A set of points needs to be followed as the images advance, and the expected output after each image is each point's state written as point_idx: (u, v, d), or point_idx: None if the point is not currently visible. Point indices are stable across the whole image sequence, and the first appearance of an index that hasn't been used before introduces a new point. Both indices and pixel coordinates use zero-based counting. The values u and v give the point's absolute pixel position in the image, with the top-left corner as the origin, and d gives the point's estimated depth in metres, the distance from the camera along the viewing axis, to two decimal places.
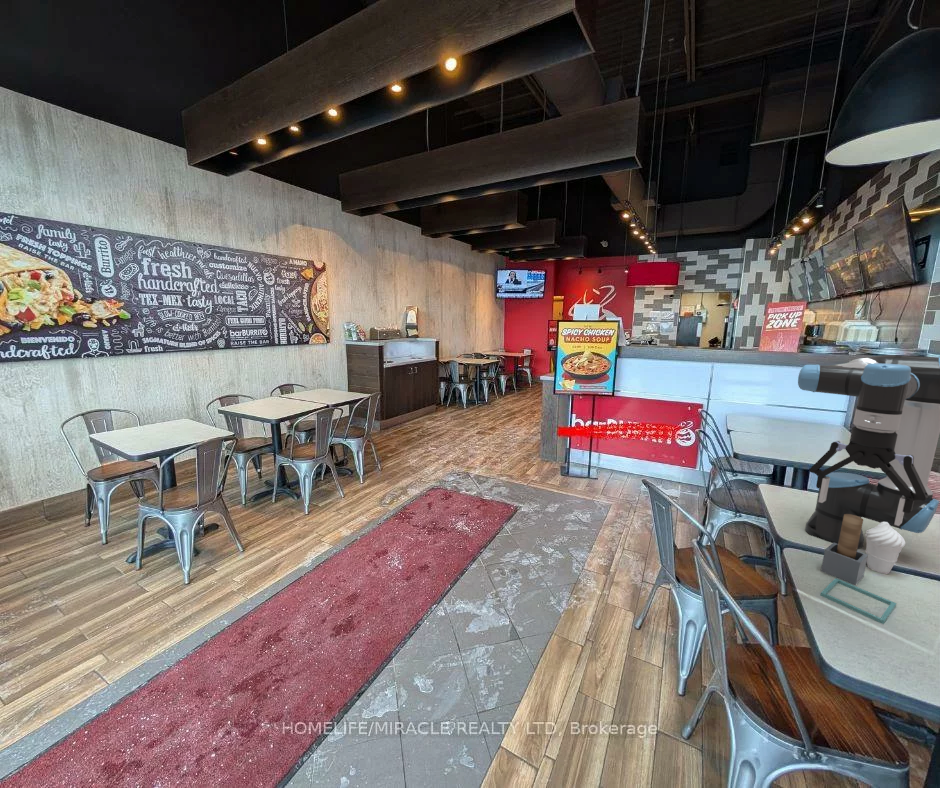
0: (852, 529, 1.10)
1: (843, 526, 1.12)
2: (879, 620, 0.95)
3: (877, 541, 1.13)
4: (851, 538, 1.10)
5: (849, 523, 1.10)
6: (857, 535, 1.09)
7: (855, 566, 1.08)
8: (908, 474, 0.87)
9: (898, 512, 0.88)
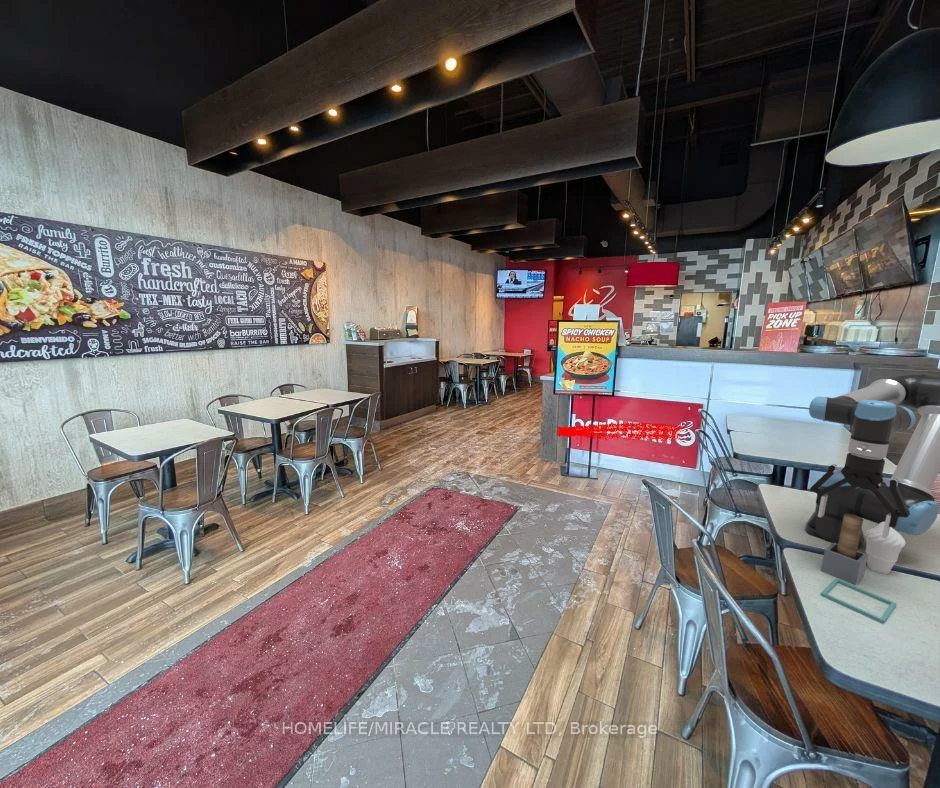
0: (852, 529, 1.10)
1: (843, 526, 1.12)
2: (879, 620, 0.95)
3: (877, 541, 1.13)
4: (851, 538, 1.10)
5: (849, 523, 1.10)
6: (857, 535, 1.09)
7: (855, 566, 1.08)
8: (893, 495, 1.03)
9: (885, 527, 1.04)
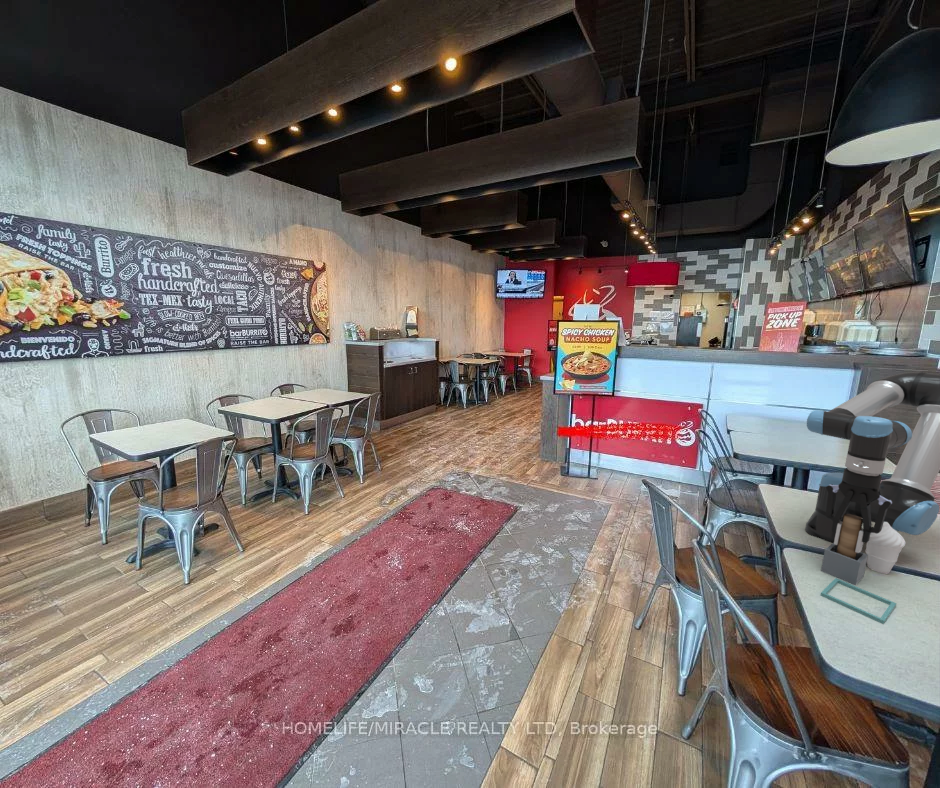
0: (852, 529, 1.10)
1: (843, 526, 1.12)
2: (879, 620, 0.95)
3: (877, 541, 1.13)
4: (851, 538, 1.10)
5: (849, 523, 1.10)
6: (857, 535, 1.09)
7: (855, 566, 1.08)
8: (879, 513, 1.05)
9: (858, 542, 1.09)
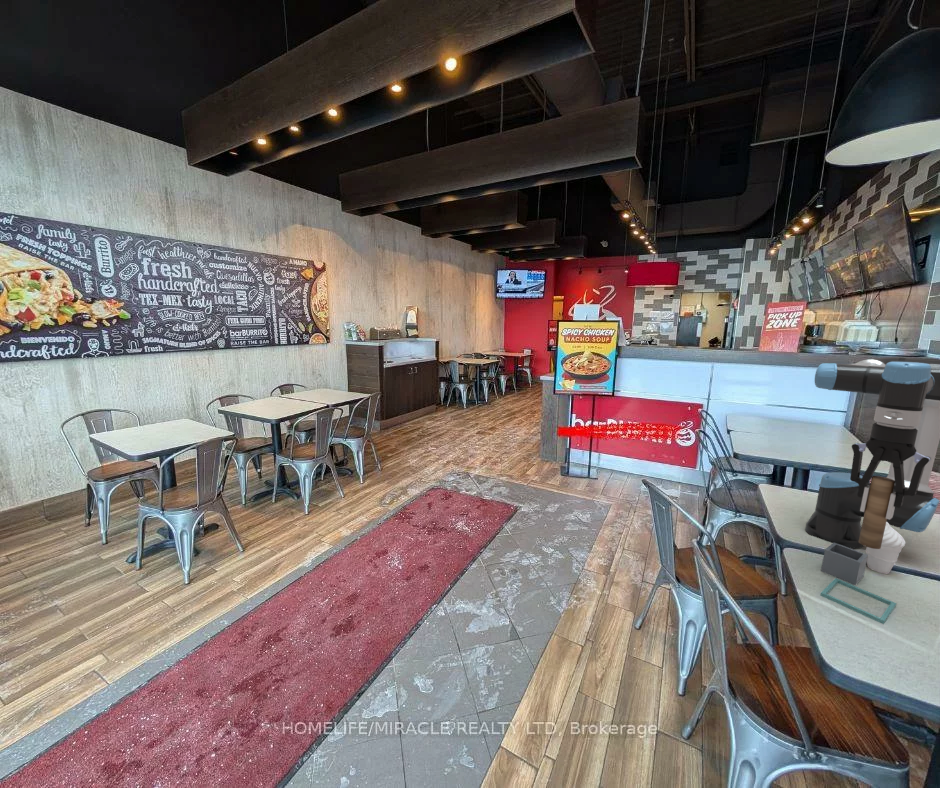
0: (882, 492, 0.96)
1: (871, 489, 0.97)
2: (879, 620, 0.95)
3: None
4: (881, 502, 0.96)
5: (879, 485, 0.96)
6: (888, 499, 0.95)
7: (855, 566, 1.08)
8: (914, 472, 0.91)
9: (889, 507, 0.95)
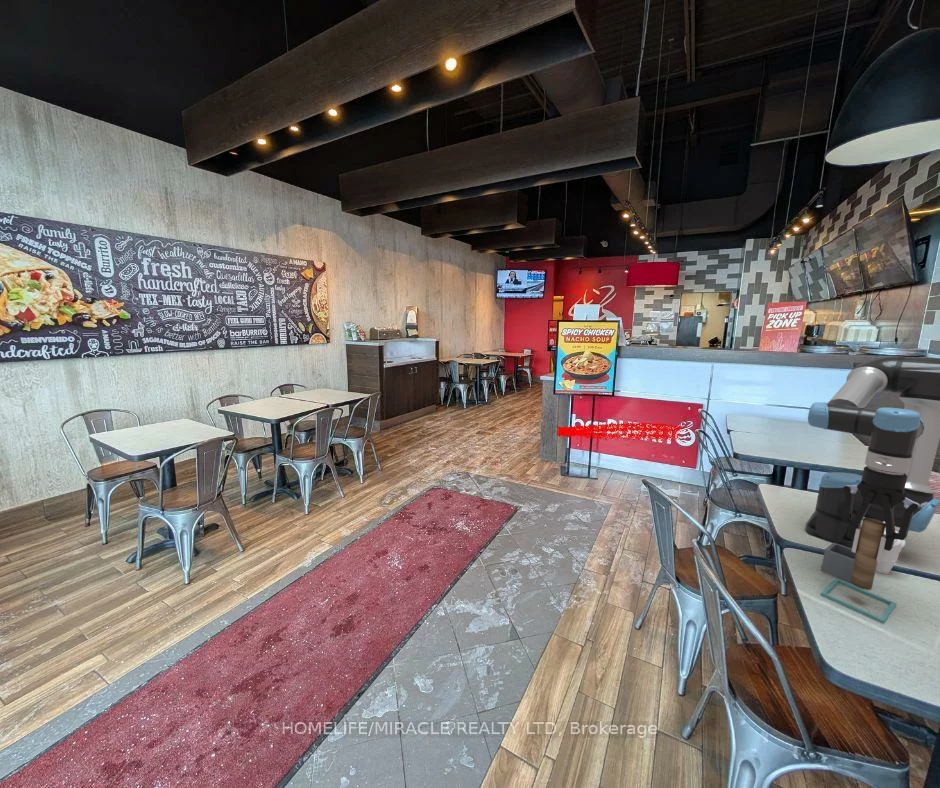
0: (873, 535, 0.97)
1: (862, 531, 0.99)
2: (879, 620, 0.95)
3: None
4: (872, 545, 0.98)
5: (869, 528, 0.98)
6: (879, 542, 0.97)
7: None
8: (904, 517, 0.93)
9: (880, 549, 0.97)
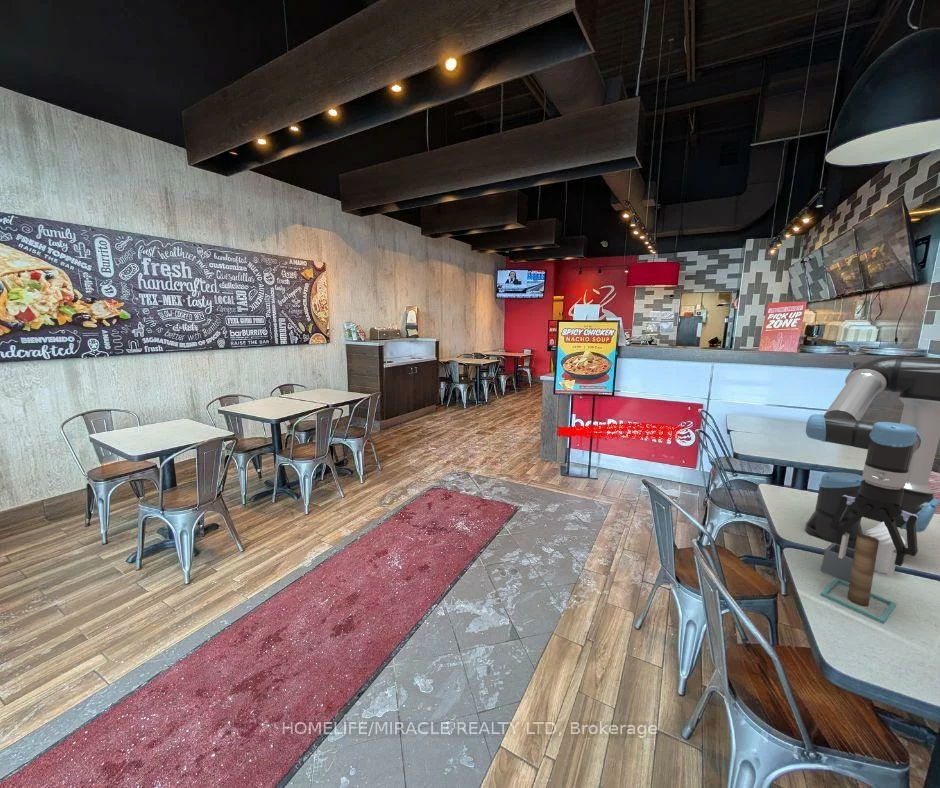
0: (867, 552, 0.99)
1: (857, 548, 1.01)
2: (879, 620, 0.95)
3: None
4: (866, 561, 0.99)
5: (863, 545, 0.99)
6: (873, 558, 0.98)
7: None
8: (907, 531, 0.93)
9: (890, 565, 0.96)
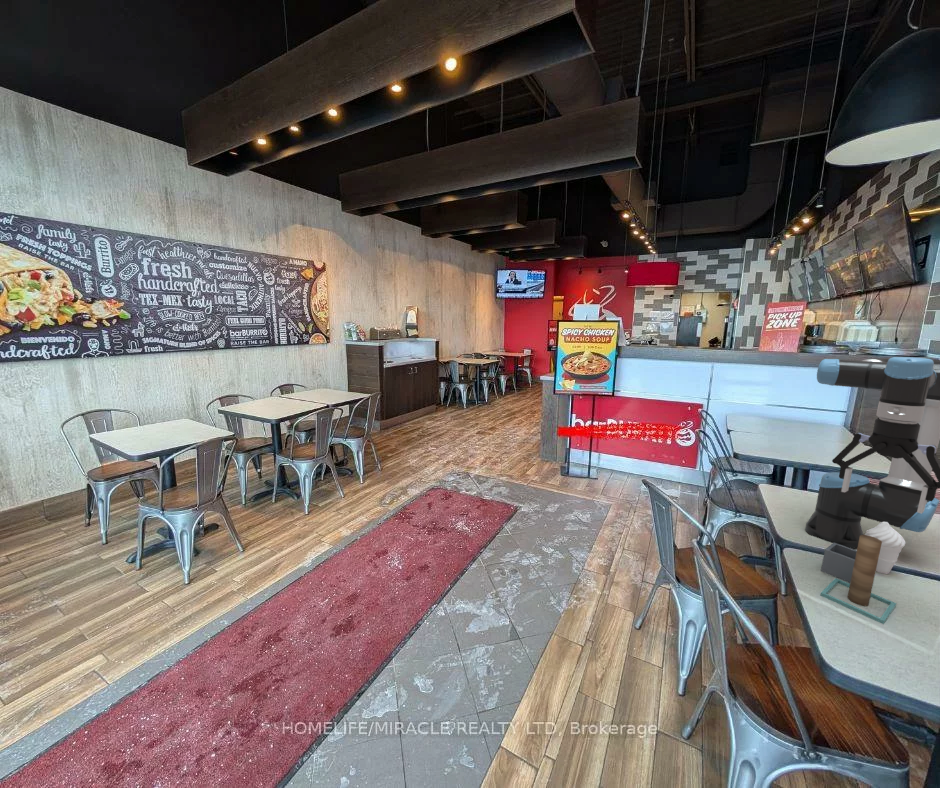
0: (869, 552, 0.98)
1: (859, 549, 1.00)
2: (879, 620, 0.95)
3: None
4: (868, 562, 0.99)
5: (866, 546, 0.99)
6: (875, 559, 0.98)
7: None
8: (931, 463, 0.90)
9: (921, 500, 0.92)
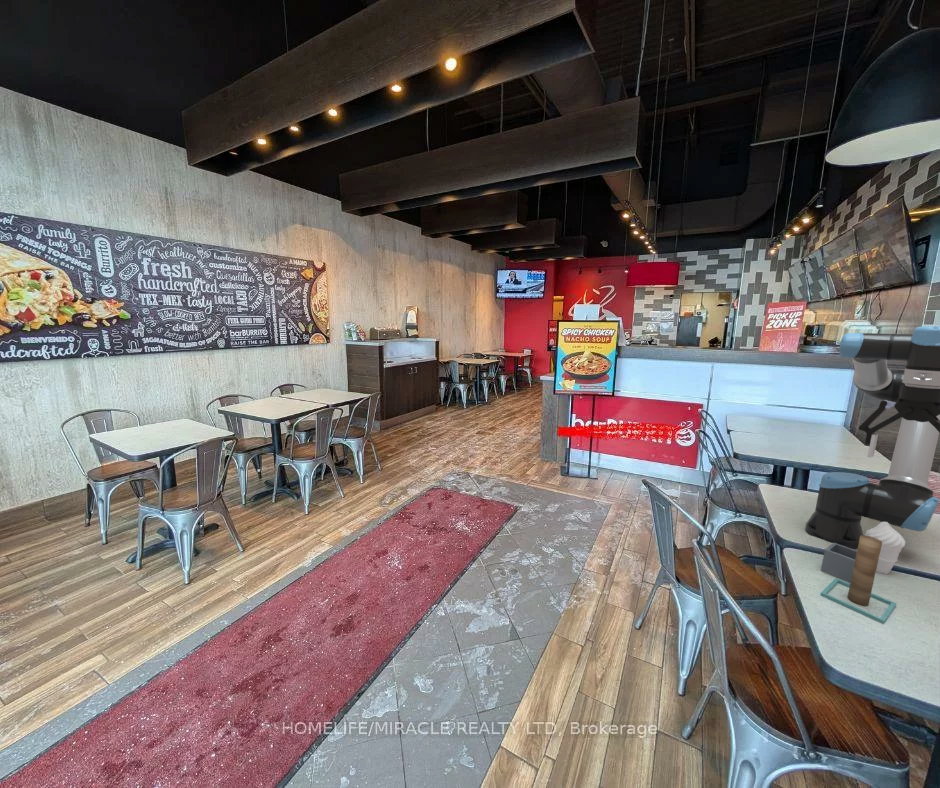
0: (869, 553, 0.98)
1: (859, 549, 1.00)
2: (879, 620, 0.95)
3: None
4: (868, 562, 0.99)
5: (866, 546, 0.99)
6: (875, 559, 0.98)
7: None
8: None
9: None
